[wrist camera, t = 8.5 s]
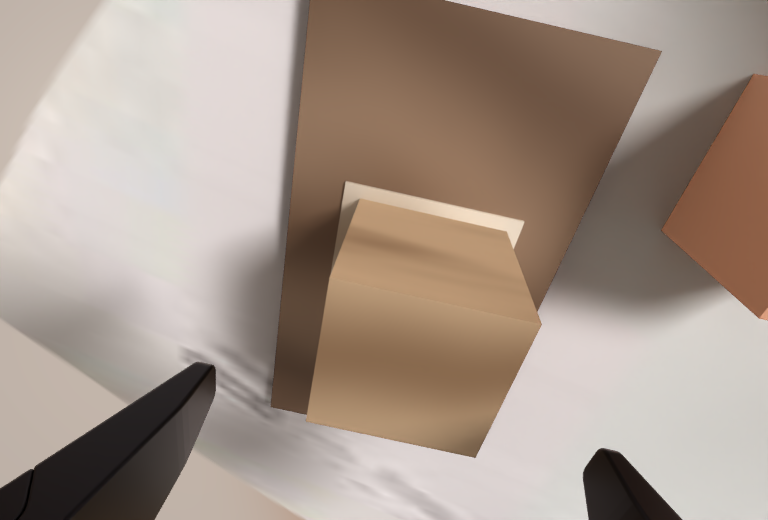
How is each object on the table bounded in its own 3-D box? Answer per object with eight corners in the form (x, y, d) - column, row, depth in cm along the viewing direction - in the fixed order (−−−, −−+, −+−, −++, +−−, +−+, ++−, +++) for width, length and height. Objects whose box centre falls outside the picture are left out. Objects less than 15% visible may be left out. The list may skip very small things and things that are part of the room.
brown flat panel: (470, 438, 20) (471, 451, 20) (274, 397, 20) (270, 408, 19) (651, 49, 12) (663, 51, 11) (318, -28, 12) (312, -32, 11)
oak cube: (462, 343, 17) (475, 457, 12) (337, 316, 16) (305, 421, 12) (506, 231, 14) (541, 324, 10) (360, 198, 14) (329, 277, 10)
